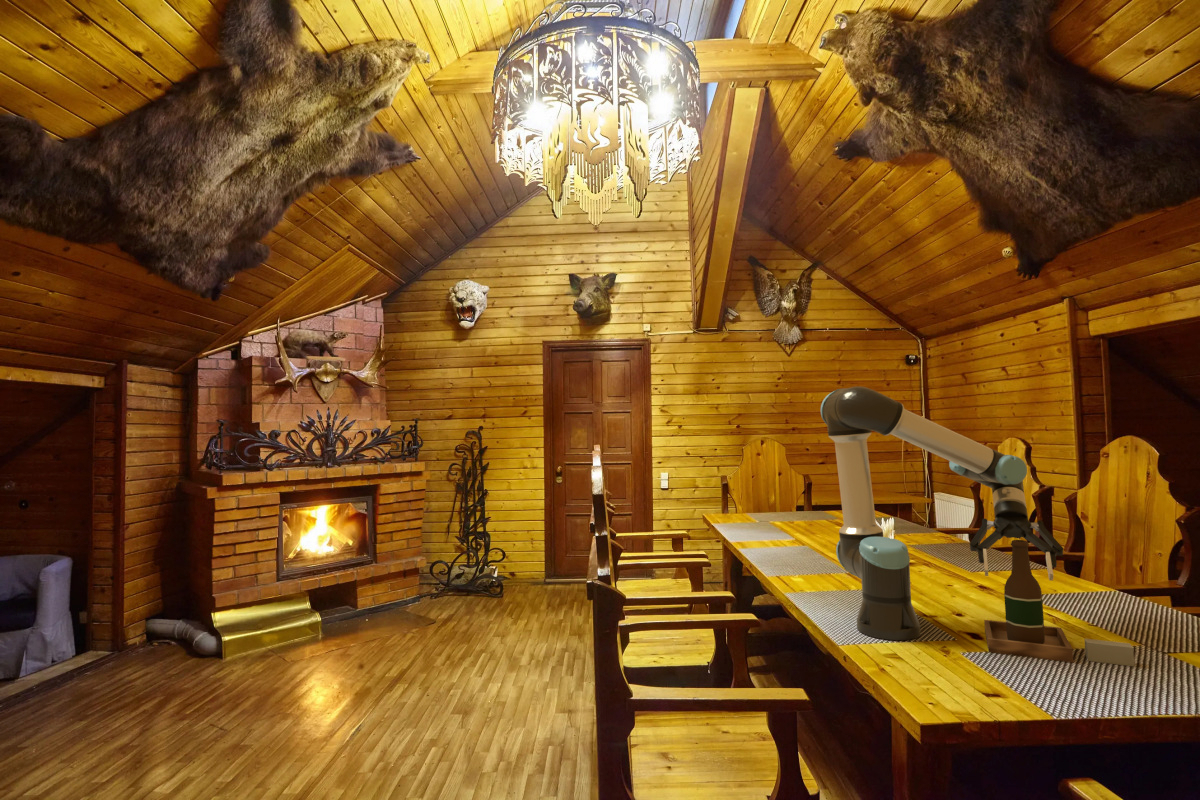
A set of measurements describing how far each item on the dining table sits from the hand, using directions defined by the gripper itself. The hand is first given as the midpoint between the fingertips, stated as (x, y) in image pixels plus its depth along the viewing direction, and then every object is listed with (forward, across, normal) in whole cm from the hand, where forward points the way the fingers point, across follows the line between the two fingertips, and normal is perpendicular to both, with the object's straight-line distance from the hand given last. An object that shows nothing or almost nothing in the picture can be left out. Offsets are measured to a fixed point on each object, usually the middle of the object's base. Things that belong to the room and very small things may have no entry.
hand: (1018, 575), depth 156 cm
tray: (+16, 0, +4) cm, 17 cm away
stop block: (+19, +15, +2) cm, 25 cm away
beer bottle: (+16, 0, +4) cm, 16 cm away
